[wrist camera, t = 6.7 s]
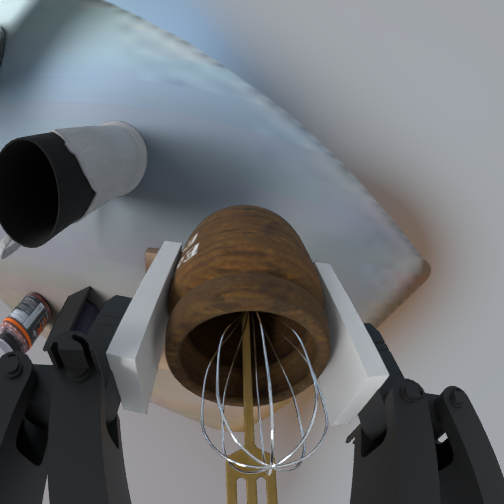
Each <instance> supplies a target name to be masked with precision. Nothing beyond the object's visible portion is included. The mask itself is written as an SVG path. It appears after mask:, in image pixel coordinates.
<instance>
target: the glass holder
mask: <svg viewBox="0 0 504 504" xmlns="http://www.w3.org/2000/svg"><path fill="white" fill-rule="evenodd" d="M146 167H147V149H146V145H145V142H144V140H143V138H142V136H141V135H140V133H139V132H138V131H137V130H136V129H135V128H134V127H132V126H131V125H130V124H127V123H125V122H121V121H110V122H105V123H103V124H101V125H99V126H86V127H75V128H65V129H56V130H51V132H49V133H44V134H38V135H32V136H26V137H21V138H17V139H14V140H12V141H10V142H9V143H8V144H6V145H5V147H4V148H3V149H2V150H1V152H0V224H1V226H2V228H3V229H4V230H5V232H6V233H7V235H6V236H5V237H4V238H3V240H2V241H1V243H0V258H1V259H4V258H6V257H8V256H9V255H10V254H12V253H13V252H14V251H16V250H17V249H18V248H19V247H20V246H24V247H28V248H36V247H39V246H42V245H43V244H45V243H46V242H47V241H49V240H50V239H51V238H53V237H54V236H55V235H57V234H58V233H59V232H61V231H62V230H63V229H65V228H66V227H68V226H69V225H70V224H73V223H76V222H78V221H80V220H81V219H83V218H84V217H86V216H87V215H88V214H90V213H91V212H93V211H94V210H96V209H97V208H99V207H100V206H102V205H103V204H105V203H106V202H108V201H109V200H111V199H113V198H114V197H120V196H124V195H126V194H128V193H130V192H131V191H132V190H134V189H135V188H136V187H137V185H138V184H139V183H140V181H141V180H142V178H143V176H144V174H145V171H146ZM12 240H14V241H15V243H13V244H12V245H11V246H10V247H8V248H7V249H5V248H6V247H7V245H8V244H9V243H10V242H11V241H12Z"/></svg>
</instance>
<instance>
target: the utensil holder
mask: <svg viewBox="0 0 504 504" xmlns="http://www.w3.org/2000/svg"><path fill="white" fill-rule="evenodd" d="M168 316H169V319H168V322H167V327H166V334H165V355H166V360H167V364H168V366H169V369H170V370H171V372H172V374H173V375H174V377H175V378H176V379H177V380H178V381H179V382H180V383H181V384H182V385H183V386H184V387H185V388H186V389H188V390H189V391H191V392H192V393H194V394H196V395H198V396H200V397H202V403H201V427H202V430H203V434H204V436H205V438H206V440H207V441H208V443H209V444H210V446H211V447H212V448H213V449H214V450H215V451H216V452H217V453H218V454H219V455H220V456H222V457H223V458H225V459H226V486H227V504H237V484H236V481H237V479H238V478H244V479H245V480H246V486H247V504H257V486H256V480H257V479H258V478H259V477H263V478H265V479H266V491H267V504H278V503H277V487H276V470H278V471H291V470H294V469H296V468H297V467H298V466H299V465H300V464H301V463H302V461H303V460H304V459H306V458H308V457H309V456H310V455H312V454H313V453H314V452H315V451H316V450H317V449H318V448H319V446H320V445H321V444H322V442H323V440H324V438H325V436H326V433H327V429H328V415H327V410H326V406H325V403H324V400H323V396H322V393H321V390H320V387H319V384H318V381H317V379H318V378H319V376H320V375H321V374H322V372H323V371H324V369H325V368H326V366H327V363H328V361H329V357H330V352H331V341H330V332H329V326H328V321H327V318H326V315H325V313H324V294H323V289H322V285H321V282H320V279H319V276H318V274H317V271H316V269H315V267H314V264H313V262H312V260H311V258H310V256H309V254H308V252H307V250H306V248H305V246H304V244H303V243H302V241H301V239H300V237H299V236H298V234H297V233H296V231H295V230H294V229H293V228H292V226H291V225H290V224H289V223H288V222H287V221H286V220H284V219H283V218H282V217H281V216H279V215H277V214H276V213H274V212H272V211H270V210H267V209H265V208H261V207H257V206H250V205H239V206H232V207H228V208H224V209H222V210H219V211H217V212H215V213H213V214H211V215H210V216H208V217H207V218H206V219H204V220H203V221H202V222H201V223H200V224H199V225H198V226H197V228H196V229H195V230H194V231H193V233H192V234H191V236H190V237H189V239H188V241H187V243H186V245H185V247H184V250H183V252H182V254H181V257H180V259H179V262H178V264H177V267H176V270H175V272H174V275H173V278H172V281H171V285H170V290H169V295H168ZM312 384H314V389H315V407H314V413H313V416H312V420H311V423H310V425H309V428H308V430H307V432H306V434H305V436H304V435H303V430H302V426H301V421H300V416H299V412H298V408H297V404H296V400H295V397H294V396H295V395H297V394H299V393H300V392H302V391H304V390H305V389H306V388H308V387H309V386H310V385H312ZM317 388H318V390H319V394H320V398H321V401H322V404H323V408H324V412H325V418H326V426H325V431H324V434H323V436H322V439H321V440H320V442H319V444H318V445H317V447H316V448H314V450H313V451H312V452H310V453H309V454H308V455H306V456H304V454H305V439H306V438H307V436H308V434H309V432H310V430H311V428H312V426H313V423H314V420H315V416H316V412H317V406H318V390H317ZM291 397H293V400H294V404H295V408H296V412H297V417H298V421H299V425H300V431H301V436H302V440H301V441H300V443H299V444H298V445H297V447H296V448H295V449H294V450H293V451H292V452H291V453H290V454H289V455H288V456H286V457H285V458H283V459H282V460H281V461H279V462H277V463H275V458H274V419H273V403H276V402H280V401H283V400H286V399H288V398H291ZM204 399H206V400H209V401H212V402H215V403H218V407H219V410H220V413H221V416H222V449H223V453H224V455H223V454H222V453H221V452H220V451H218V450H217V449H216V448H215V447H214V445H213V444H212V443H211V442H210V440H209V438H208V436H207V434H206V432H205V429H204V424H203V409H204ZM221 404H222V407H221ZM268 404H270V421H271V454H270V453H267V452H265V451H264V446H263V437H262V428H261V417H260V406H262V405H268ZM224 405H230V406H240V407H244V431H245V445H244V447H243V446H242V444H241V443H240V442H239V441H238V439H237V438H236V437H235V435H234V434H233V432H232V430H231V429H230V427H229V425H228V423H227V420H226V418H225V416H224ZM253 406H258V417H259V426H260V438H261V447H262V450H261V449H259V448H257V447H256V445H255V442H254V420H253ZM224 423H225V425H226V427H227V429H228V431H229V433H230V434H231V436H232V438H233V439H234V440H235V442H236V443H237V444H238V445H239V446H240V448H241V449H240V450H238V451H237V452H235V453H233V454H231V455H229V456H228V457H227V455H226V452H225V447H224ZM302 444H303V452H302V456H301V459H299V460H296V461H294V462H291V463H287V464H283V465H279V464H281V463H282V462H284V461H285V460H287V459H288V458H289V457H290V456H291V455H293V454H294V453H295V452H296V451H297V450H298V449H299V447H300V446H301V445H302ZM298 462H299V463H298ZM295 463H298V464H297V465H296V466H295V467H293V468H290V469H280V468H279V467H285V466H289V465H292V464H295Z"/></svg>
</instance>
